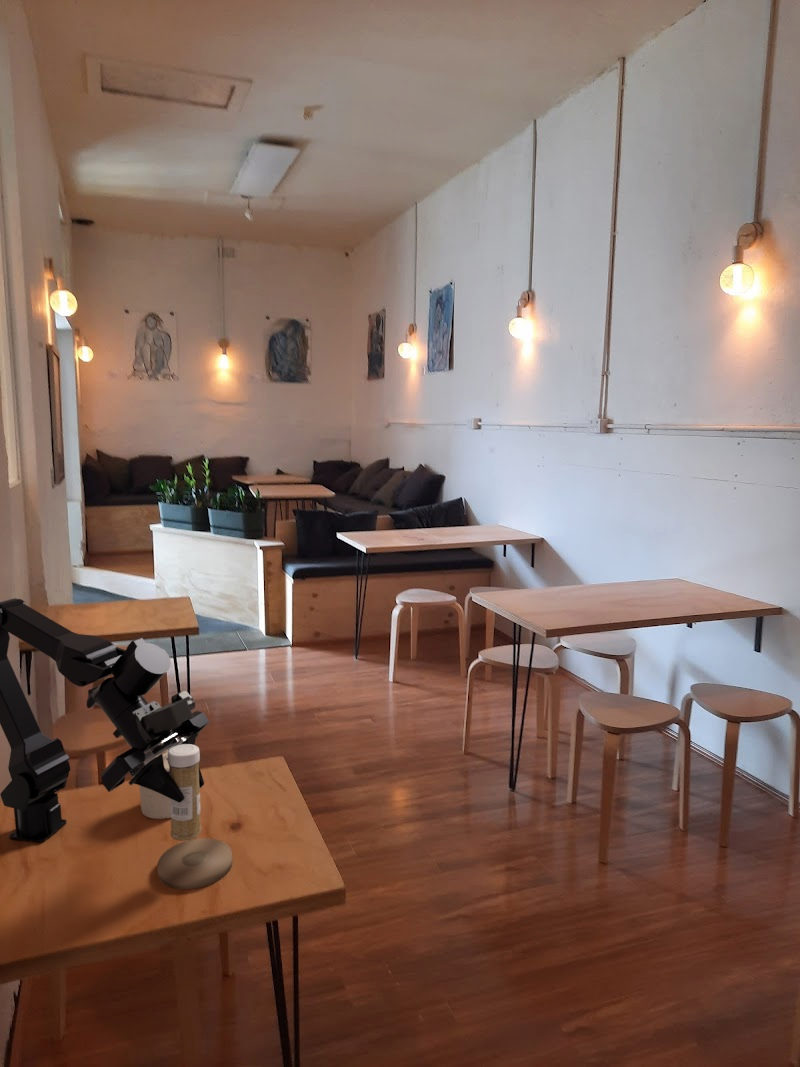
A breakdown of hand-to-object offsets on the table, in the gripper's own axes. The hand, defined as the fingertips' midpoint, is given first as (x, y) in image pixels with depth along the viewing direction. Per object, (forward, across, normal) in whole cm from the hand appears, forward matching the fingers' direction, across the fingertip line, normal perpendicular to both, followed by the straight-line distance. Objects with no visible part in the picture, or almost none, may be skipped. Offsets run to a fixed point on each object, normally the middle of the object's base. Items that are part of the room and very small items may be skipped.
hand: (192, 793), depth 112 cm
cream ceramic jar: (-3, +16, +22) cm, 27 cm away
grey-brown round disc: (+8, +2, +10) cm, 13 cm away
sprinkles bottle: (+4, 0, +6) cm, 7 cm away
